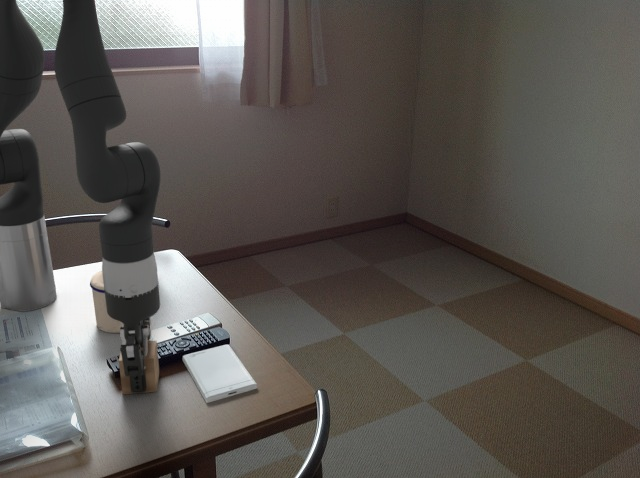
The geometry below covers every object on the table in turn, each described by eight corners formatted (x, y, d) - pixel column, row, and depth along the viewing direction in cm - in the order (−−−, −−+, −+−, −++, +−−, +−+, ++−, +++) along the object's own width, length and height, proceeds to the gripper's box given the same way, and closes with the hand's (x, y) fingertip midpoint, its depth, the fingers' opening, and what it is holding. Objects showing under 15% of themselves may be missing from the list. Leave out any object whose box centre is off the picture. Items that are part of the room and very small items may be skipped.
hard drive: (182, 355, 97) (206, 396, 87) (229, 343, 101) (257, 382, 91) (182, 363, 98) (206, 406, 88) (229, 351, 102) (257, 391, 92)
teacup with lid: (150, 329, 106) (145, 271, 102) (97, 338, 103) (89, 279, 99) (141, 299, 117) (135, 245, 112) (92, 307, 113) (85, 252, 109)
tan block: (122, 394, 89) (118, 360, 87) (126, 374, 94) (123, 342, 91) (156, 391, 90) (153, 358, 88) (159, 372, 94) (156, 340, 92)
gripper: (111, 262, 91) (122, 356, 97) (95, 307, 78) (108, 411, 84) (161, 260, 92) (169, 352, 99) (153, 304, 79) (162, 407, 86)
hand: (141, 379), depth 91 cm, fingers closed on tan block, 5 cm apart
